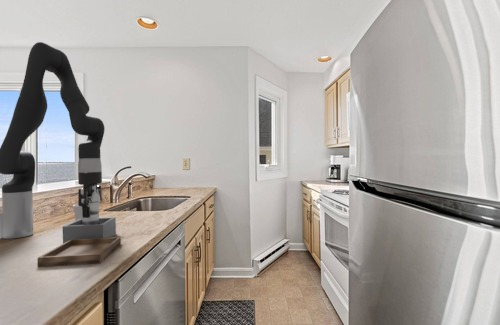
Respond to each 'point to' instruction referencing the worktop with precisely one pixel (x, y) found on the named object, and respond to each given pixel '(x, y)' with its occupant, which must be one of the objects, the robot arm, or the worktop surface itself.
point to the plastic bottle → (93, 210)
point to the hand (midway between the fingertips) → (91, 215)
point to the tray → (80, 252)
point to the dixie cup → (77, 211)
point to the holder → (89, 230)
